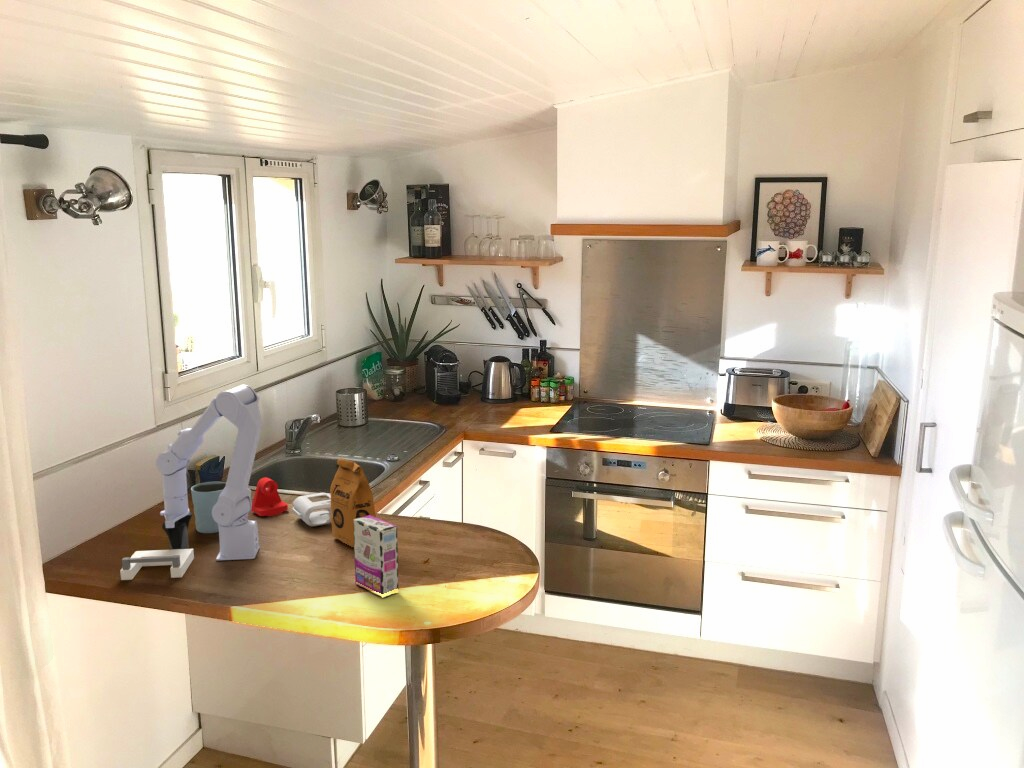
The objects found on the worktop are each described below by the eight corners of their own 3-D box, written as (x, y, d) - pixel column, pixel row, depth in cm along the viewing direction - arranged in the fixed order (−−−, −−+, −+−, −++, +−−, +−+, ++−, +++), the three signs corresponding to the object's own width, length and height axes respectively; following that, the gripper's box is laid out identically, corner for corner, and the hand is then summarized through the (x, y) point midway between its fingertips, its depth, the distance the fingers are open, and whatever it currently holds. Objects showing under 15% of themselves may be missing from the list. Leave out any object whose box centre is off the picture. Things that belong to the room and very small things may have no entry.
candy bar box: (400, 592, 196) (398, 525, 193) (382, 599, 193) (380, 531, 190) (371, 578, 204) (369, 513, 201) (354, 584, 201) (352, 518, 198)
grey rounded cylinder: (190, 546, 224) (189, 524, 223) (186, 552, 220) (184, 530, 219) (173, 547, 223) (171, 525, 222) (168, 553, 219) (166, 531, 218)
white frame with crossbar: (194, 557, 216) (192, 538, 215) (181, 577, 205) (180, 557, 204) (136, 560, 215) (135, 541, 214) (121, 580, 203) (119, 560, 202)
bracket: (261, 518, 245) (259, 485, 243) (251, 513, 250) (249, 480, 248) (289, 511, 251) (287, 479, 249) (279, 506, 255) (277, 474, 253)
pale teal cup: (186, 531, 235) (182, 490, 232) (209, 519, 244) (207, 479, 242) (216, 535, 231) (213, 493, 229) (239, 523, 241) (237, 483, 239)
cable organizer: (345, 502, 239) (330, 490, 249) (302, 509, 233) (289, 497, 243) (346, 524, 241) (331, 512, 251) (303, 532, 234) (289, 519, 244)
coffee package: (348, 552, 220) (345, 471, 216) (327, 538, 230) (324, 460, 226) (382, 543, 226) (379, 464, 222) (360, 530, 236) (358, 454, 232)
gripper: (167, 486, 225) (170, 535, 228) (151, 504, 211) (155, 556, 214) (194, 485, 226) (198, 534, 229) (180, 503, 212) (184, 554, 215)
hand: (179, 544), depth 221 cm, fingers closed on grey rounded cylinder, 4 cm apart
